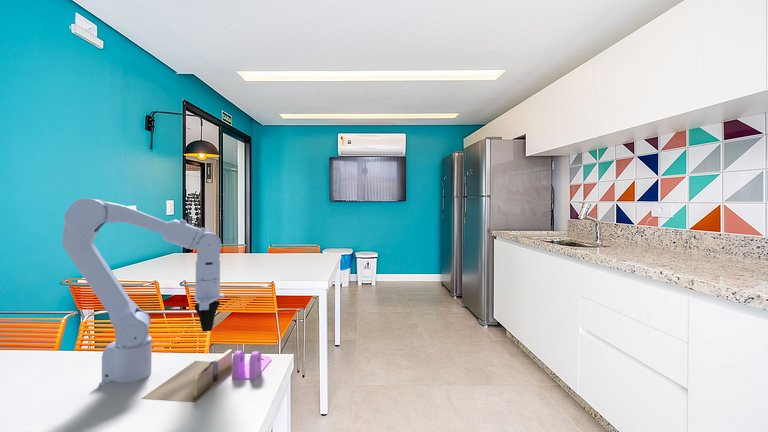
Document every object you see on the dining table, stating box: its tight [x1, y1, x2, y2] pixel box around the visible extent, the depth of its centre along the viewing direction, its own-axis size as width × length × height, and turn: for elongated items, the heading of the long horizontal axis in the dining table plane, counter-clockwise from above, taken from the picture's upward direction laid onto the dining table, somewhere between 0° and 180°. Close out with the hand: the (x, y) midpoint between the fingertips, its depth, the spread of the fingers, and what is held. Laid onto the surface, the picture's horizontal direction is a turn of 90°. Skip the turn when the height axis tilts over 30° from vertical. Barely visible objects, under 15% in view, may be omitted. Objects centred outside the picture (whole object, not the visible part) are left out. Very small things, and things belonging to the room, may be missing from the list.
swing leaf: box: [193, 365, 213, 398], centre depth 80 cm, size 1×7×4 cm, turn 179°
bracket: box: [231, 350, 272, 380], centre depth 93 cm, size 13×6×7 cm, turn 177°
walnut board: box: [141, 360, 232, 403], centre depth 85 cm, size 12×19×1 cm, turn 175°
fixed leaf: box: [209, 349, 233, 382], centre depth 88 cm, size 2×9×4 cm, turn 175°
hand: (207, 330), depth 94 cm, fingers closed
